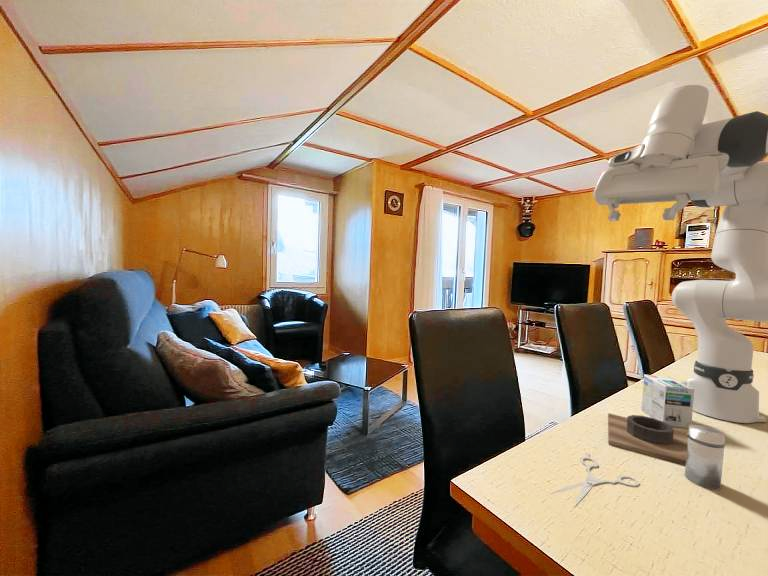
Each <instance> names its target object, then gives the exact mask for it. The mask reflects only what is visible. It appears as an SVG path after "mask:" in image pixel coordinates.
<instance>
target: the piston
mask: <svg viewBox="0 0 768 576" xmlns="http://www.w3.org/2000/svg"><path fill="white" fill-rule="evenodd" d="M687 435H688V442H687V454H686V465H684V477H685V479H687V480H688V481H689V482H691V483H693V484H694V485H697V486H699V487H702V488H705V489H709V490H719V489H721V488H722V487H721V485H722V477H723V475H722V474H723V464H724V455H725V447H726V435H725V433H724V432H721V430H719V429H715V428H712V427H709V426H705V425H700V424H691V425H689V428H688V433H687Z"/></svg>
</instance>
